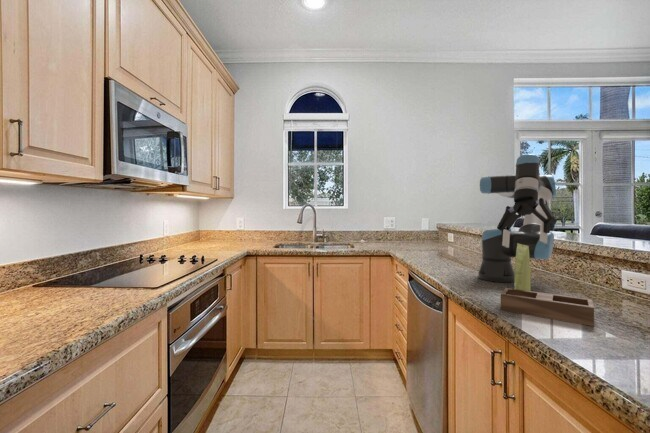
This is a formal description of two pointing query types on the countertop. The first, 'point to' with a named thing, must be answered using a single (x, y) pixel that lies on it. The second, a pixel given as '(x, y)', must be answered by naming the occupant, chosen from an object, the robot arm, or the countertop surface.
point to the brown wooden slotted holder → (548, 306)
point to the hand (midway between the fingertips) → (523, 244)
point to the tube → (522, 268)
